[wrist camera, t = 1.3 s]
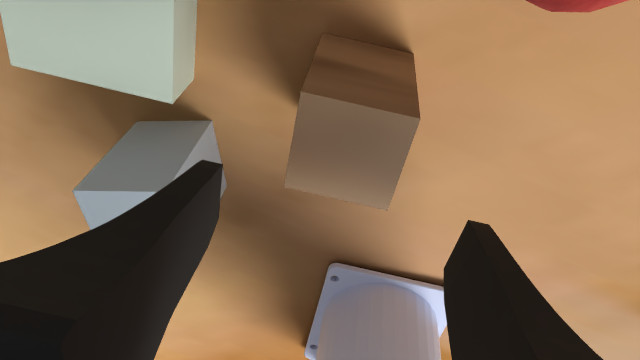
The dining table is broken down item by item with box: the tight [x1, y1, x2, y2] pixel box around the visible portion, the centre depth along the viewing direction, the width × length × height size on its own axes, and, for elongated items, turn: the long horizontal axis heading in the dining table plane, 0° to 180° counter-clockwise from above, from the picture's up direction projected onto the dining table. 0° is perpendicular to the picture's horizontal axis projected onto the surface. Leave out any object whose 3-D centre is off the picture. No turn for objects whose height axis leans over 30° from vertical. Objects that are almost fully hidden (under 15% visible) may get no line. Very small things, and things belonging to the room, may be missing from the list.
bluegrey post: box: [73, 121, 227, 230], centre depth 22 cm, size 4×4×6 cm
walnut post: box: [284, 33, 420, 211], centre depth 19 cm, size 4×4×6 cm
